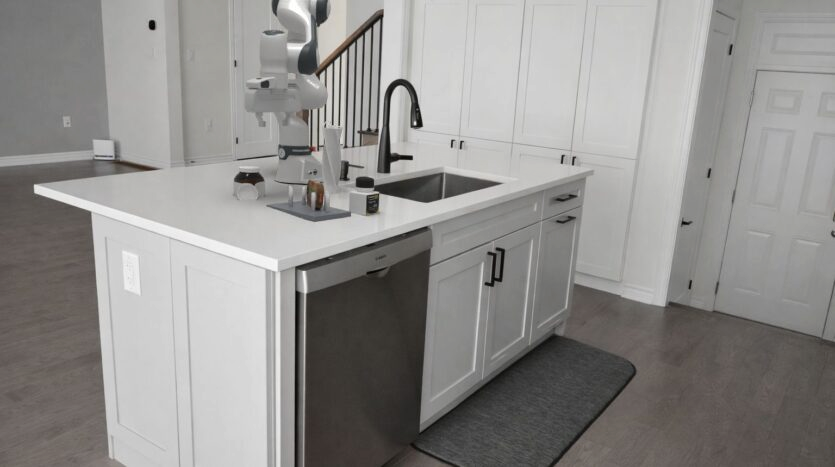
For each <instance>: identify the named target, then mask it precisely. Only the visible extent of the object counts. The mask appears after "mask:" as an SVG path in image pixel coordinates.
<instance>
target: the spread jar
mask: <svg viewBox="0 0 835 467" xmlns="http://www.w3.org/2000/svg"><path fill="white" fill-rule="evenodd" d="M265 183H266V180H265V178H264V176H263V175H262V174H261V173H260V167H259V166H253V165H252V166H250V165H245V166H244V165H243V166H242V165H241V166H238V173H237V174H236V175H235V176H234V178H233V187H232V188H233V195H234V196H235V197H237V199H238V200H239V201H240V200H255V201H257V199H258V198H261V197H262V198H263V197H264V196H265V194H266V184H265Z"/></svg>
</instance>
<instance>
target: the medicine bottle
mask: <svg viewBox="0 0 835 467" xmlns="http://www.w3.org/2000/svg"><path fill="white" fill-rule="evenodd" d="M348 197H349V199H348V200H349V202H348V204H349V205H348V211H350V212H351V214H356V215H358V216H359V215H360V216H364V217H367V216H368V217H369V216H371V215H376V214H379V213H380V212H379V211H380V191H375V178H373V176H366V175H365V176H363V175H362V176H357V177H356V178H355V190H353V191H349V196H348Z"/></svg>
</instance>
